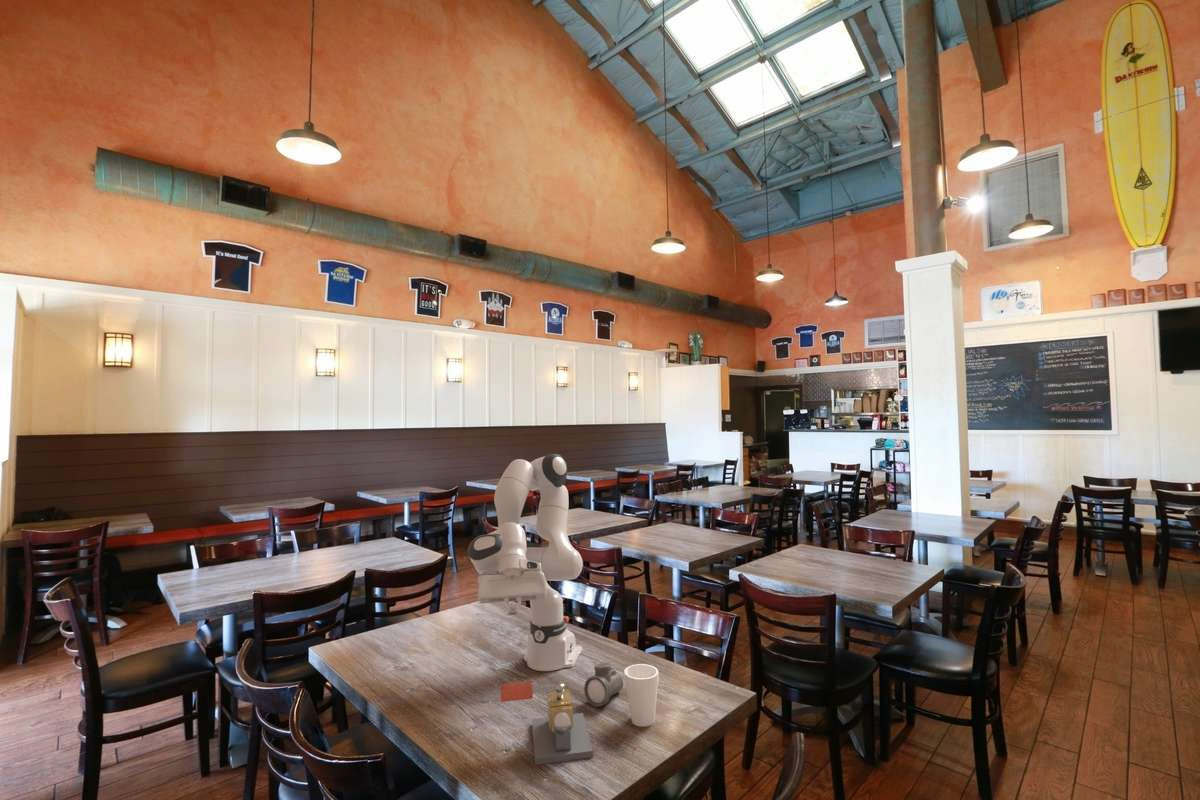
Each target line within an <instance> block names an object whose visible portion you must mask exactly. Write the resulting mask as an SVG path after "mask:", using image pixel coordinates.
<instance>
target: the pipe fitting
mask: <svg viewBox="0 0 1200 800" xmlns="http://www.w3.org/2000/svg"><path fill="white" fill-rule="evenodd" d="M593 668H594V671H595V673H594V675H593V676H590V677H589V678H587V679H586V681H585V684H584V687H583V690H584V691H583V692H584V696H585V698H586V700H587V702H588V703H589V704H590V705H591V706H592V707H595V708H600V707H603V706H604V705H606V704H607V703H608V702H609V700H610V699H611V697H612V696H614V695H616V694H617V693H619V692H621V690H622V689H623V687H624V679H623V677H622V675H621V674H620V673H619V672H618V671H616V668H614V667H612V664H611V663H610V662H598V663H595V664H594V666H593Z"/></svg>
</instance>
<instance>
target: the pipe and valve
mask: <svg viewBox="0 0 1200 800" xmlns="http://www.w3.org/2000/svg"><path fill="white" fill-rule="evenodd" d="M546 695H547V717H548V721H549V729H550V730H552V732H555V747H556V752H563V751H571V734H570V730H573V728H572V727H573V714H574V708H573V707H574V703H573V698H572V694H571V691H570V690H569V689H565V690H564V691H561V692H557V691H551V692H547V694H546Z"/></svg>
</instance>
